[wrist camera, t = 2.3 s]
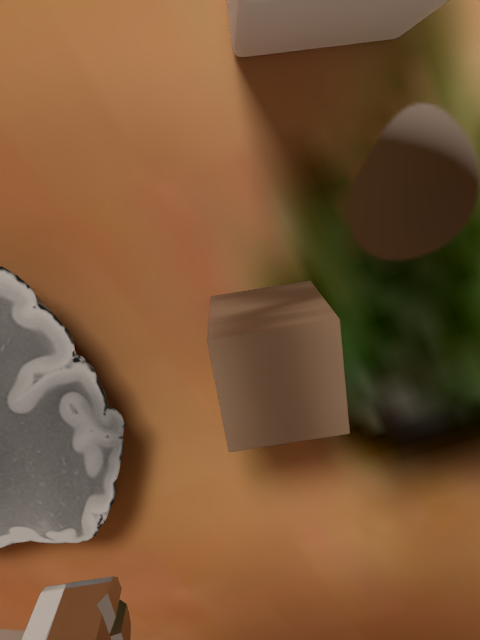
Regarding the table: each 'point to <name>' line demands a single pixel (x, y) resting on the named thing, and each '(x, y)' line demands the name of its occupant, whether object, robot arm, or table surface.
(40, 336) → the brain slice
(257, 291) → the walnut block
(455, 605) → the table surface
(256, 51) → the medicine bottle
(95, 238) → the table surface
